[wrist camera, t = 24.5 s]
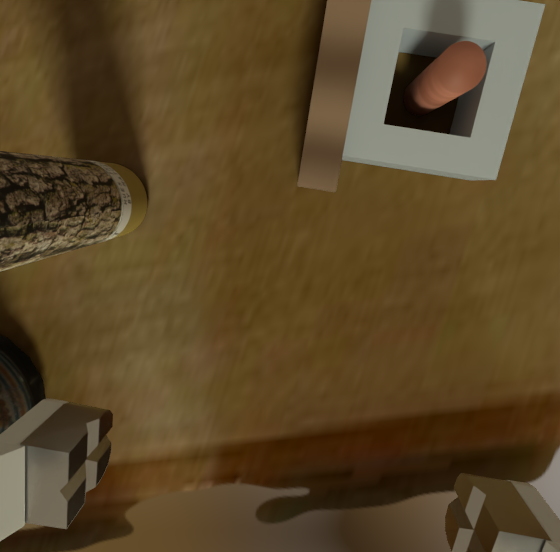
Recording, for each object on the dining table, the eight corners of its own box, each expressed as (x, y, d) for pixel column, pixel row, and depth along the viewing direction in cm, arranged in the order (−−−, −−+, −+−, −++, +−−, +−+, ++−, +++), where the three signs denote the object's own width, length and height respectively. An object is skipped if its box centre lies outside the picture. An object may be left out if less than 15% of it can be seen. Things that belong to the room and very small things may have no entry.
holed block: (363, 9, 32) (374, -21, 27) (508, 31, 32) (545, 4, 27) (336, 159, 35) (341, 155, 30) (469, 180, 35) (495, 179, 30)
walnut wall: (335, -40, 32) (341, -91, 26) (371, -35, 32) (387, -84, 26) (298, 185, 36) (297, 186, 30) (330, 190, 36) (335, 192, 30)
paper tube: (82, 157, 37) (-358, 108, 12) (153, 169, 36) (-150, 142, 12) (79, 229, 38) (-313, 310, 14) (147, 240, 38) (-129, 343, 14)
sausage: (407, 75, 33) (444, 37, 25) (443, 80, 33) (492, 44, 24) (400, 112, 34) (432, 88, 25) (434, 117, 34) (479, 95, 25)
